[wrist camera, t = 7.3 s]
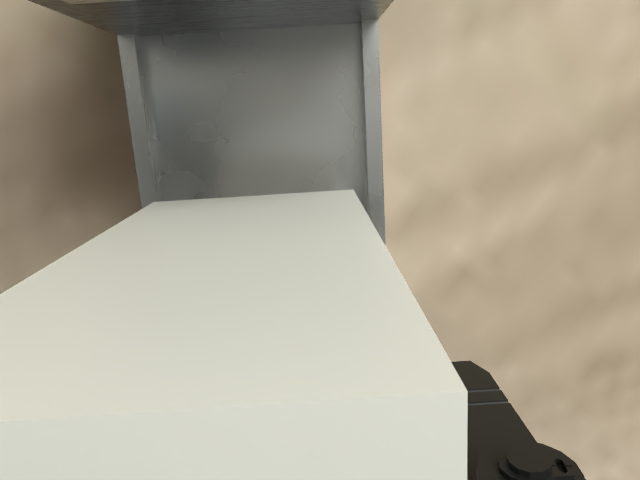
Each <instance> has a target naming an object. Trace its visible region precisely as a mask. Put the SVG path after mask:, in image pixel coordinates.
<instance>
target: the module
mask: <svg viewBox="0 0 640 480" xmlns="http://www.w3.org/2000/svg"><path fill="white" fill-rule="evenodd" d="M467 421H468V391H467V389H466V387H465V386H464V384H463V382H462V380H461V379H460V377H459V375H458V373H457V372H456V370H455V368H454V366H453V364H452V363H451V361H450V359H449V357H448V356H447V354H446V352H445V350H444V349H443V347H442V345H441V343H440V342H439V340H438V338H437V336H436V334H435V333H434V331H433V329H432V327H431V326H430V324H429V322H428V320H427V319H426V317H425V315H424V313H423V311H422V310H421V308H420V306H419V304H418V303H417V301H416V299H415V297H414V296H413V294H412V292H411V290H410V288H409V287H408V285H407V283H406V281H405V280H404V278H403V276H402V274H401V273H400V271H399V269H398V267H397V265H396V264H395V262H394V260H393V258H392V257H391V255H390V253H389V251H388V250H387V248H386V246H385V244H384V243H383V241H382V239H381V237H380V235H379V234H378V232H377V230H376V228H375V227H374V225H373V223H372V221H371V220H370V218H369V216H368V214H367V212H366V211H365V209H364V207H363V205H362V204H361V202H360V200H359V198H358V197H357V195H356V193H355V191H354V189H352V190H336V191H320V192H304V193H288V194H272V195H257V196H241V197H225V198H209V199H193V200H177V201H161V202H153V203H151V204H149V205H148V206H146V207H144V208H143V209H141V210H139V211H138V212H136V213H134V214H133V215H131V216H129V217H128V218H126V219H124V220H123V221H121V222H119V223H118V224H116V225H114V226H113V227H111V228H109V229H108V230H106V231H104V232H103V233H101V234H99V235H98V236H96V237H94V238H93V239H91V240H89V241H88V242H86V243H84V244H83V245H81V246H79V247H78V248H76V249H74V250H73V251H71V252H69V253H68V254H66V255H64V256H63V257H61V258H59V259H58V260H56V261H54V262H53V263H51V264H49V265H48V266H46V267H45V268H43V269H41V270H40V271H38V272H36V273H35V274H33V275H31V276H30V277H28V278H26V279H25V280H23V281H21V282H20V283H18V284H16V285H15V286H13V287H11V288H10V289H8V290H6V291H5V292H3V293H1V294H0V480H467Z"/></svg>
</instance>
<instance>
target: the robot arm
mask: <svg viewBox="0 0 640 480" xmlns="http://www.w3.org/2000/svg"><path fill="white" fill-rule="evenodd" d="M451 363H452V364H453V366H454V368H455V370H456V372H457V373H458V375H459V377H460V379H461V380H462V382H463V384H464V386H465V387H466V389H467V391H468V421H467V480H586V479H585V478H584V475H583V473H582V472H581V470H580V469H579V467H578V466H577V464H576V463H575V462H574V461H573V460H571V459H570V458H569V457H567V456H566V455H565V454H563V453H562V452H561V451H558V450H556V449H553V448H551V447H549V446H546V445H544V444H540V443H537V442H536V440H535V439H534V438H533V436H532V435H531V433H530V432H529V430H528V429H527V427H526V426H525V424H524V423H523V421H522V420H521V419H520V417H519V416H518V414H517V413H516V411H515V410H514V408H513V407H512V405H511V404H510V403H508V399H507V398H506V397H505V395H504V394H503V392H502V391H501V390H499V386H498V385H497V383H496V382H495V380H494V379H493V378H492V376H491V375H490V373H489V372H487V371H486V370H484V369H482V368H481V367H479V366H478V365H476V364H474V363H473V362H471V361H459V362H451Z"/></svg>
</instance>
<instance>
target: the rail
mask: <svg viewBox="0 0 640 480" xmlns="http://www.w3.org/2000/svg"><path fill="white" fill-rule="evenodd" d="M29 1H31V2H34V3H36V4H39V5H41V6H44V7H47V8H49V9H52V10H54V11H57V12H59V13H62V14H65V15H67V16H70V17H72V18H75V19H77V20H80V21H83V22H85V23H88V24H90V25H93V26H95V27H98V28H101V29H103V30H106V31H108V32H111V33H113V34H116V35H117V38H118V45H119V52H120V60H121V67H122V74H123V81H124V88H125V95H126V102H127V109H128V116H129V123H130V131H131V138H132V145H133V152H134V159H135V166H136V173H137V180H138V187H139V195H140V202H141V209H143V208H144V207H146V206H148V205H149V204H151V203H153V202H161V201H177V200H193V199H209V198H225V197H241V196H257V195H272V194H288V193H304V192H320V191H336V190H352V189H354V191H355V193H356V195H357V197H358V198H359V200H360V202H361V204H362V205H363V207H364V209H365V211H366V212H367V214H368V216H369V218H370V220H371V221H372V223H373V225H374V227H375V228H376V230H377V232H378V234H379V235H380V237H381V239H382V241H383V243H384V244H385V218H384V188H383V157H382V126H381V95H380V65H379V34H378V19H379V17H380V16H381V15H382V14H383V13H384V11H385V10H386V9H387V8H388V7H389V5H390V4H391V3H392V2H393V1H394V0H29Z"/></svg>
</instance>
